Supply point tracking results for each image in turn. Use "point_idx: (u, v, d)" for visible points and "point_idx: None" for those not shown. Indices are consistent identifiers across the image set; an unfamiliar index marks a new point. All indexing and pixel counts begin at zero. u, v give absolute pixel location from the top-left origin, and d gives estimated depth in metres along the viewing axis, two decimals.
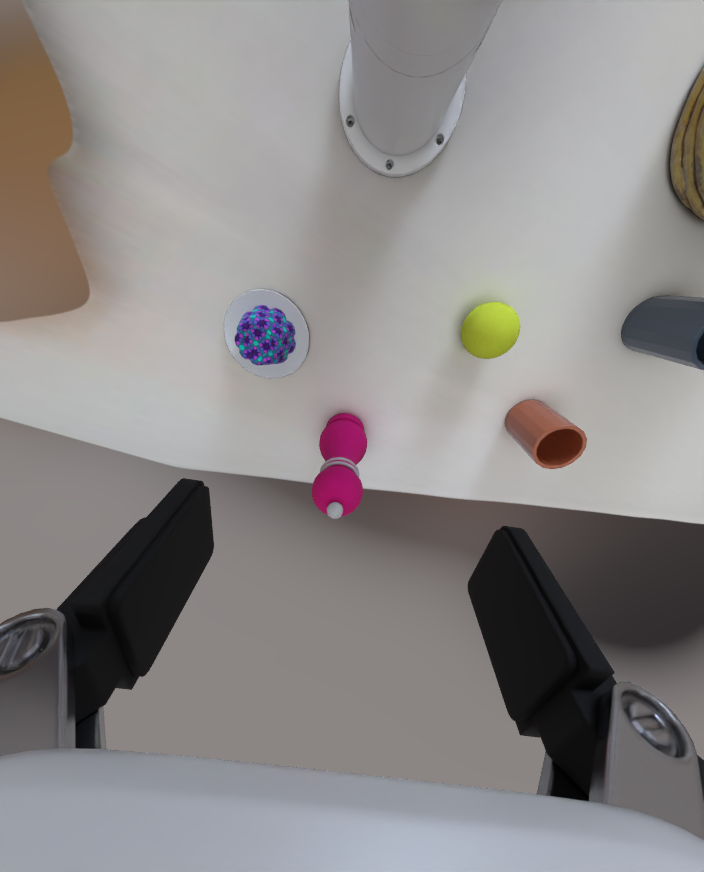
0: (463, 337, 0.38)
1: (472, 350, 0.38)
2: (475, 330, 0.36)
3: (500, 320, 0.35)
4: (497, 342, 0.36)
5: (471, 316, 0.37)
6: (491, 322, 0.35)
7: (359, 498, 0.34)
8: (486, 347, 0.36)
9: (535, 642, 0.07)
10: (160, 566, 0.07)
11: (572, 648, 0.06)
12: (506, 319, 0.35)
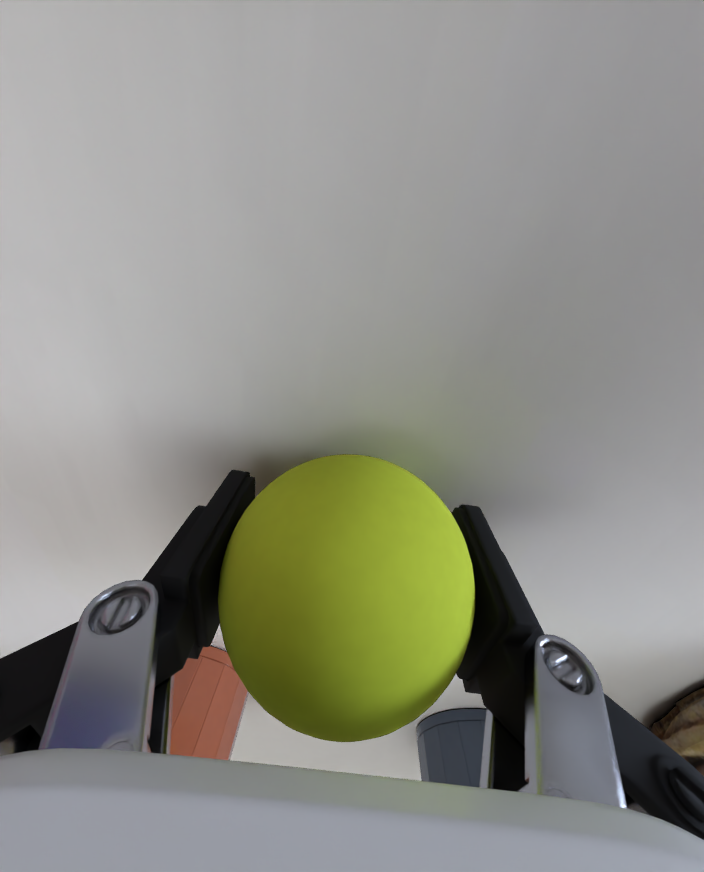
0: (268, 505, 0.07)
1: (222, 583, 0.07)
2: (313, 588, 0.05)
3: (418, 688, 0.06)
4: (300, 726, 0.06)
5: (380, 501, 0.06)
6: (392, 658, 0.05)
7: None
8: (252, 679, 0.06)
9: (477, 605, 0.08)
10: (223, 547, 0.08)
11: (504, 606, 0.07)
12: (431, 697, 0.06)
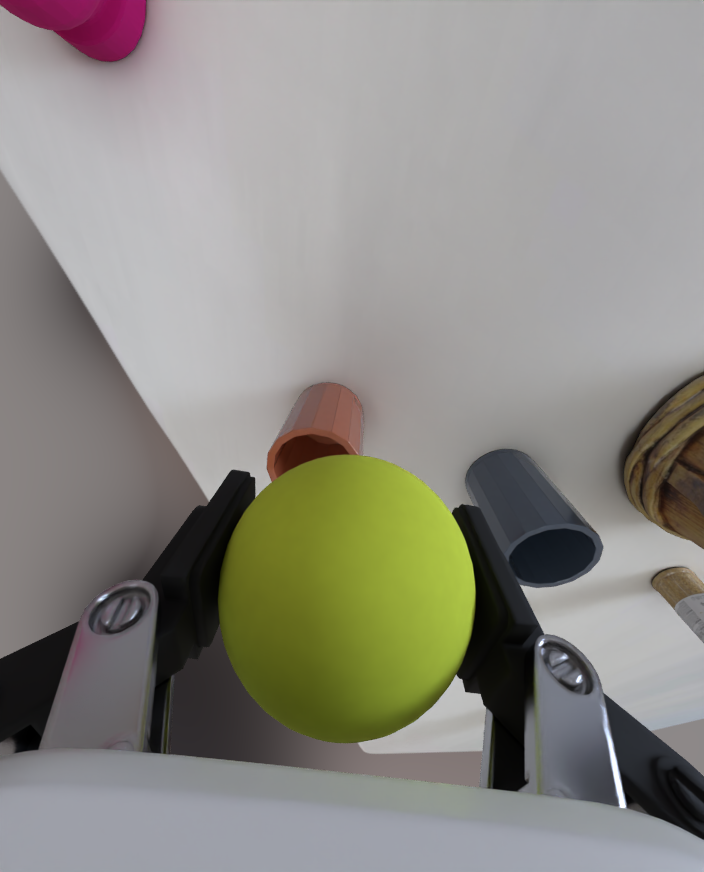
0: (268, 505, 0.07)
1: (221, 584, 0.07)
2: (313, 589, 0.05)
3: (419, 689, 0.06)
4: (300, 727, 0.06)
5: (380, 501, 0.06)
6: (392, 659, 0.05)
7: None
8: (251, 680, 0.06)
9: (477, 605, 0.08)
10: (223, 547, 0.08)
11: (504, 606, 0.07)
12: (431, 698, 0.06)
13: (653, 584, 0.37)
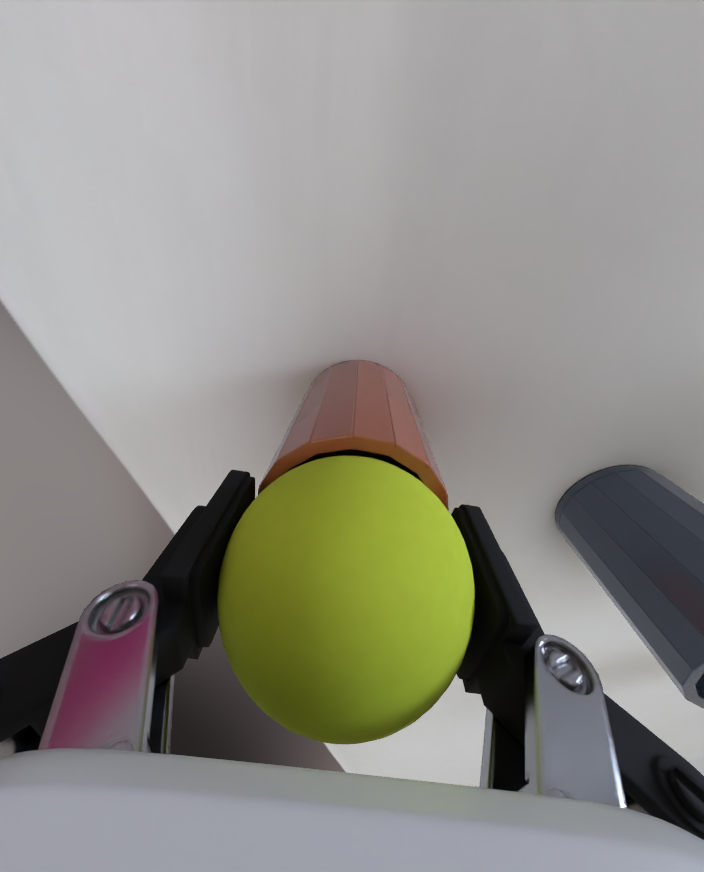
0: (267, 506, 0.07)
1: (221, 585, 0.07)
2: (312, 591, 0.05)
3: (418, 690, 0.06)
4: (299, 728, 0.06)
5: (379, 503, 0.06)
6: (391, 660, 0.05)
7: None
8: (251, 682, 0.06)
9: (477, 605, 0.08)
10: (223, 547, 0.08)
11: (504, 607, 0.07)
12: (431, 699, 0.06)
13: None
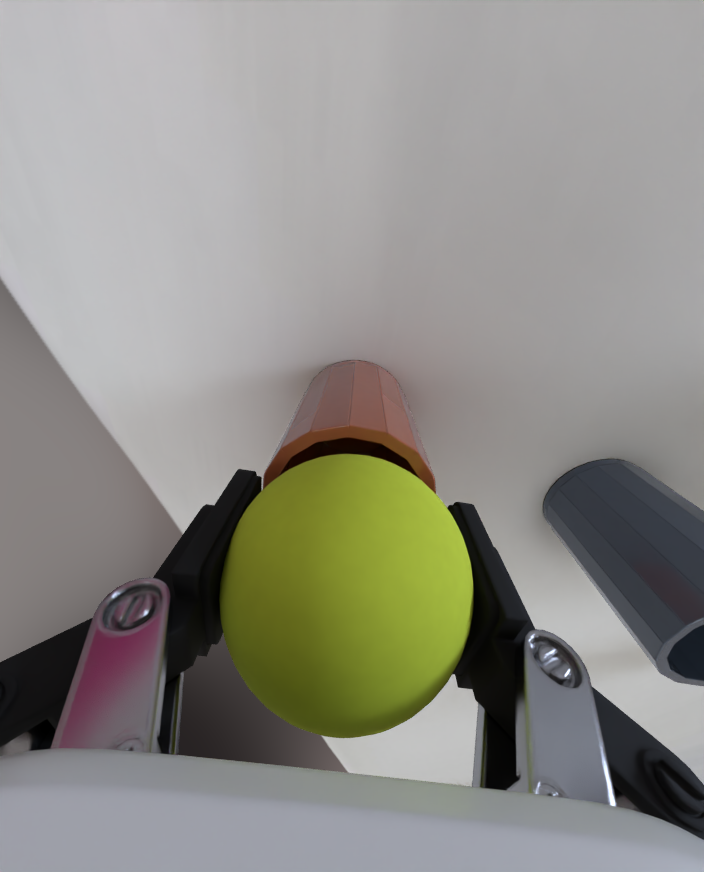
0: (268, 504, 0.07)
1: (222, 581, 0.07)
2: (313, 586, 0.06)
3: (417, 684, 0.06)
4: (300, 722, 0.06)
5: (379, 500, 0.07)
6: (390, 654, 0.05)
7: None
8: (252, 676, 0.06)
9: None
10: None
11: (495, 602, 0.07)
12: (430, 693, 0.06)
13: None
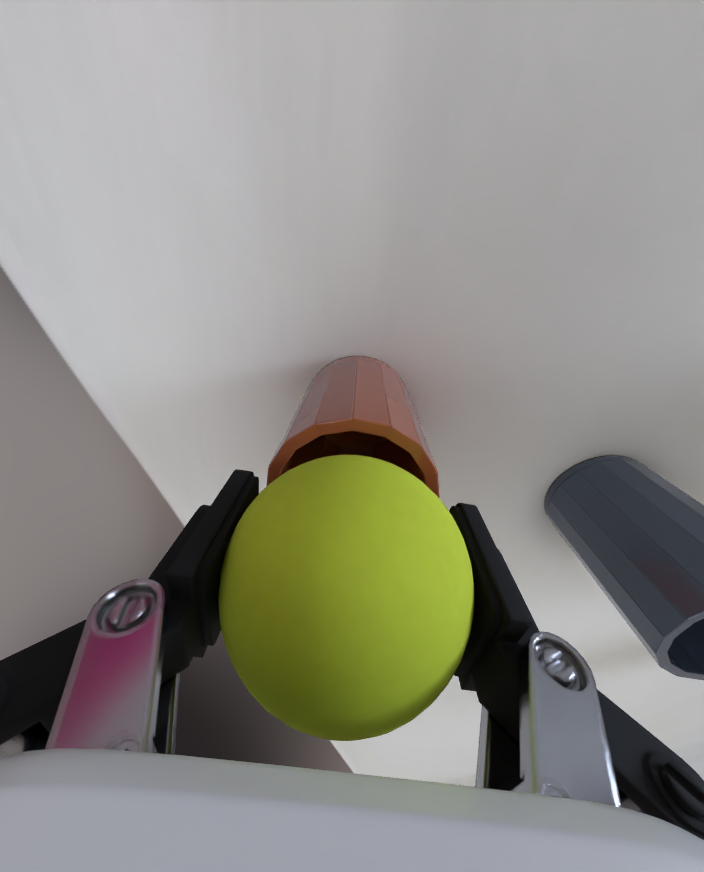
0: (268, 505, 0.07)
1: (222, 583, 0.07)
2: (312, 588, 0.06)
3: (417, 687, 0.06)
4: (299, 725, 0.06)
5: (380, 502, 0.06)
6: (391, 657, 0.05)
7: None
8: (252, 678, 0.06)
9: None
10: None
11: (499, 604, 0.07)
12: (430, 696, 0.06)
13: None
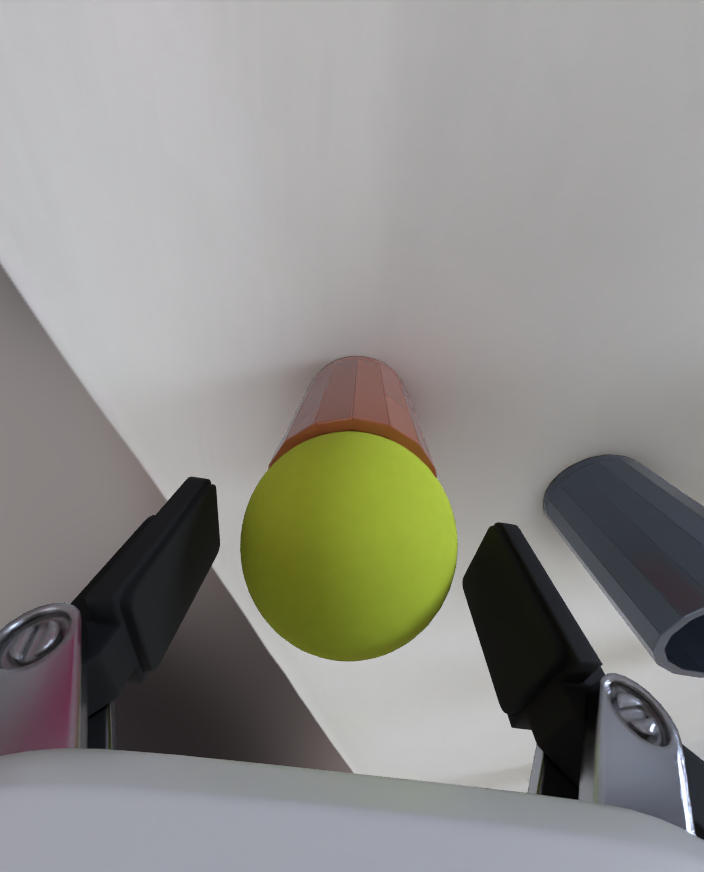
0: (283, 469, 0.08)
1: (244, 534, 0.08)
2: (322, 529, 0.07)
3: (406, 610, 0.07)
4: (310, 642, 0.07)
5: (376, 464, 0.08)
6: (384, 583, 0.07)
7: None
8: (271, 605, 0.07)
9: (526, 636, 0.07)
10: (170, 562, 0.07)
11: (561, 641, 0.06)
12: (417, 621, 0.07)
13: None
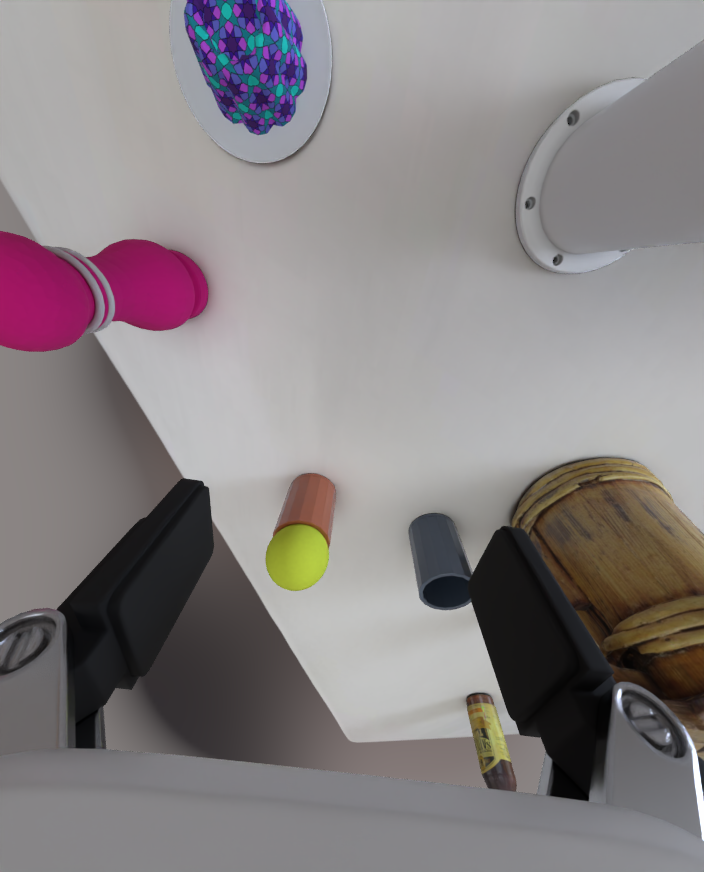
0: (277, 540, 0.31)
1: (267, 557, 0.31)
2: (286, 557, 0.30)
3: (306, 576, 0.30)
4: (283, 584, 0.30)
5: (301, 539, 0.31)
6: (300, 569, 0.30)
7: (36, 345, 0.16)
8: (274, 575, 0.30)
9: (535, 642, 0.07)
10: (160, 566, 0.07)
11: (572, 648, 0.06)
12: (309, 579, 0.30)
13: None
